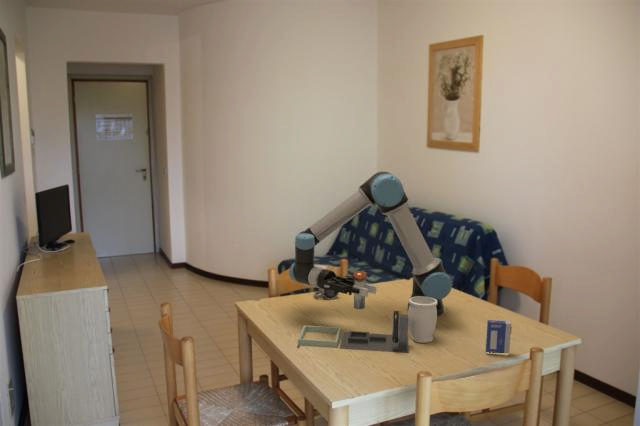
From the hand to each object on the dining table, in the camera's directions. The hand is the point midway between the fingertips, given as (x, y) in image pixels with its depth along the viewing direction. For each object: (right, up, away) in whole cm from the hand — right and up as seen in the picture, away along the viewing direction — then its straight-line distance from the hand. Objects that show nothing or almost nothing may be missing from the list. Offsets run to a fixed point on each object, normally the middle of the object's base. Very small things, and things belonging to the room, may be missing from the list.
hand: (371, 291), depth 206 cm
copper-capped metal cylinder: (-4, -6, +5) cm, 9 cm away
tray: (-18, -19, +6) cm, 27 cm away
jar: (+19, -19, +9) cm, 29 cm away
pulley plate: (+1, -20, +3) cm, 20 cm away
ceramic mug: (-16, -11, +56) cm, 59 cm away
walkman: (+44, -21, -3) cm, 49 cm away
